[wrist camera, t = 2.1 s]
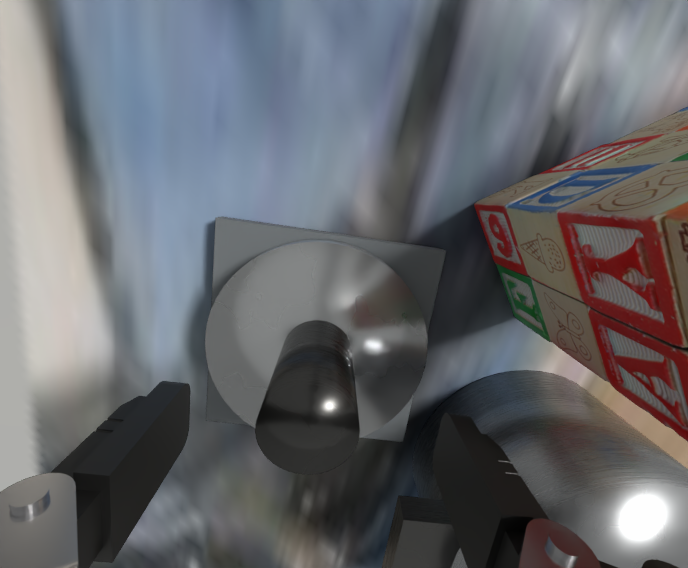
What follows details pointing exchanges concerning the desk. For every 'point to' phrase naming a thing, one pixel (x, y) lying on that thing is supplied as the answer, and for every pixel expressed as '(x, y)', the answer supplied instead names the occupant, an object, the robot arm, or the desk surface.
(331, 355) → the lid
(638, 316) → the stack of blocks
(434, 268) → the plate
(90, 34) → the desk surface
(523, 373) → the pot
